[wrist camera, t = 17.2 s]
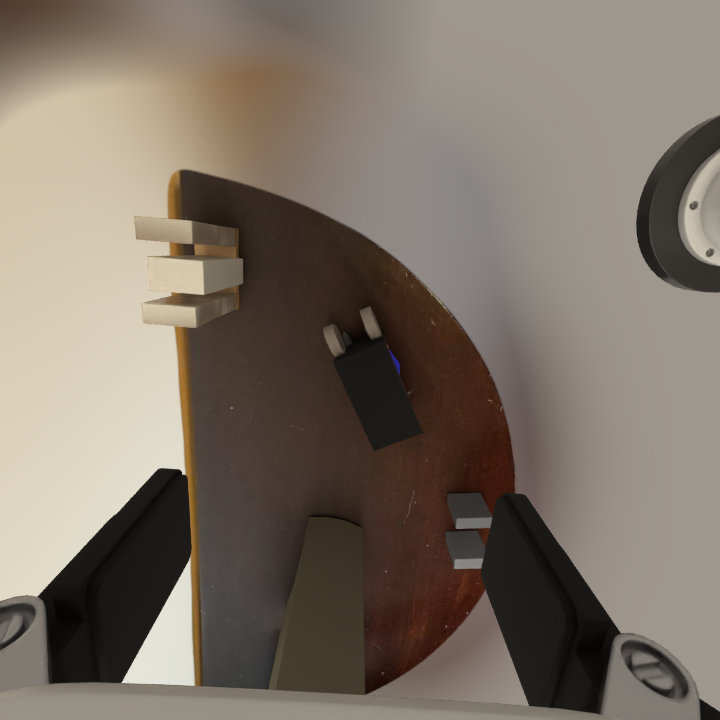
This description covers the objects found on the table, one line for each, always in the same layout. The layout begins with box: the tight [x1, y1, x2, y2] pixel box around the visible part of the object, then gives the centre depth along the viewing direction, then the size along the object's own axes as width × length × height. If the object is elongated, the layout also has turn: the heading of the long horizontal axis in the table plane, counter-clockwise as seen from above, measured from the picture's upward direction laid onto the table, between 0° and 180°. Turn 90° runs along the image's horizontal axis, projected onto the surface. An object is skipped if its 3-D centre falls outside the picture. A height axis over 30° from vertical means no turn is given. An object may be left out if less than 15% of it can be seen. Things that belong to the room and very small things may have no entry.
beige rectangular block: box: [147, 255, 243, 295], centre depth 36 cm, size 3×5×11 cm, turn 85°
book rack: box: [134, 216, 239, 328], centre depth 36 cm, size 9×5×12 cm, turn 175°
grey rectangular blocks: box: [446, 493, 492, 569], centre depth 50 cm, size 8×5×5 cm, turn 2°
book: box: [269, 517, 365, 695], centre depth 43 cm, size 18×8×24 cm, turn 166°
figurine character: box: [323, 306, 423, 451], centre depth 42 cm, size 7×8×15 cm
